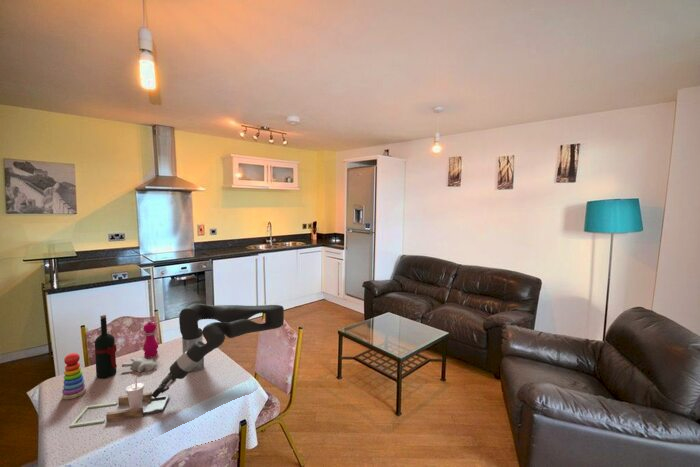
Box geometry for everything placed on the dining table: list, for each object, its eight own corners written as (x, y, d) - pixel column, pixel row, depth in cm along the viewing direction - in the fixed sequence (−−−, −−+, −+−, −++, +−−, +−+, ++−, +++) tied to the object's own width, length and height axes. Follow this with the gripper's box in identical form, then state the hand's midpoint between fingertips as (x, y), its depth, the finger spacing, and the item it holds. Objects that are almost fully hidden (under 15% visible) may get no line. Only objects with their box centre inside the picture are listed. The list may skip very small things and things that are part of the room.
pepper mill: (142, 359, 170) (140, 323, 168) (144, 353, 176) (142, 319, 174) (158, 356, 173) (156, 321, 171) (159, 350, 179) (157, 317, 178)
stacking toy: (90, 391, 140) (87, 351, 139) (69, 402, 133) (66, 359, 131) (78, 387, 143) (76, 348, 141) (57, 398, 135) (54, 356, 134)
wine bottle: (107, 381, 149) (104, 320, 146) (92, 377, 152) (88, 317, 149) (123, 372, 156) (120, 314, 153) (108, 369, 159) (105, 312, 156)
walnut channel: (152, 398, 136) (151, 392, 136) (141, 416, 125) (141, 409, 124) (120, 402, 133) (119, 396, 133) (106, 421, 121) (106, 414, 121)
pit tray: (169, 397, 137) (169, 395, 137) (162, 412, 127) (162, 409, 127) (151, 400, 135) (151, 397, 135) (142, 415, 125) (142, 412, 125)
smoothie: (135, 415, 125) (134, 382, 124) (122, 412, 127) (120, 380, 125) (149, 405, 132) (147, 373, 130) (136, 403, 133) (134, 371, 132)
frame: (117, 403, 133) (117, 401, 133) (103, 422, 121) (103, 420, 121) (86, 407, 130) (86, 405, 130) (69, 427, 118) (69, 425, 118)
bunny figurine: (147, 367, 154) (119, 361, 156) (146, 377, 155) (119, 371, 156) (160, 358, 163) (134, 352, 165) (160, 367, 164) (134, 361, 166)
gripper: (188, 377, 127) (156, 410, 125) (195, 361, 140) (165, 391, 138) (173, 366, 125) (140, 400, 123) (181, 351, 138) (151, 381, 136)
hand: (153, 395), depth 130 cm, fingers closed
